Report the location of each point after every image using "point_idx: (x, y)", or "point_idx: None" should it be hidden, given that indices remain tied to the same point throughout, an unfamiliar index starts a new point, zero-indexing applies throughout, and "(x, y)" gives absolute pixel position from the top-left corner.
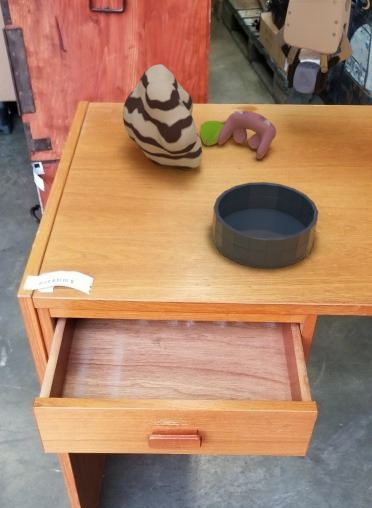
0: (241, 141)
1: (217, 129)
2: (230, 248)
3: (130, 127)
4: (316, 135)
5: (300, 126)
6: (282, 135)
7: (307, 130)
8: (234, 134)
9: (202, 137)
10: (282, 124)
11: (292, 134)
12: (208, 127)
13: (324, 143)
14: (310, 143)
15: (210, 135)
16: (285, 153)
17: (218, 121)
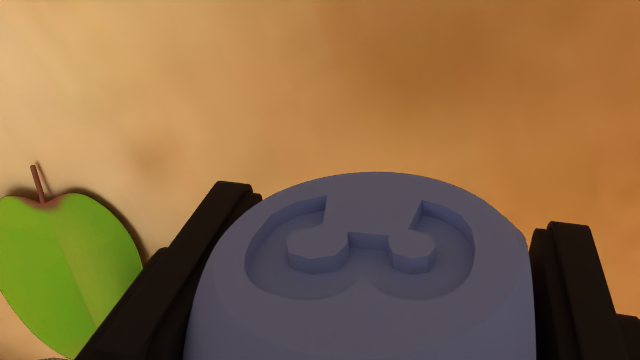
0: None
1: (64, 266)
2: None
3: None
4: (552, 81)
5: (406, 4)
6: (347, 169)
7: (471, 39)
8: None
9: (74, 357)
10: (287, 36)
11: (396, 134)
12: (31, 283)
13: (628, 161)
14: (536, 194)
15: (81, 323)
16: None
17: (14, 203)
